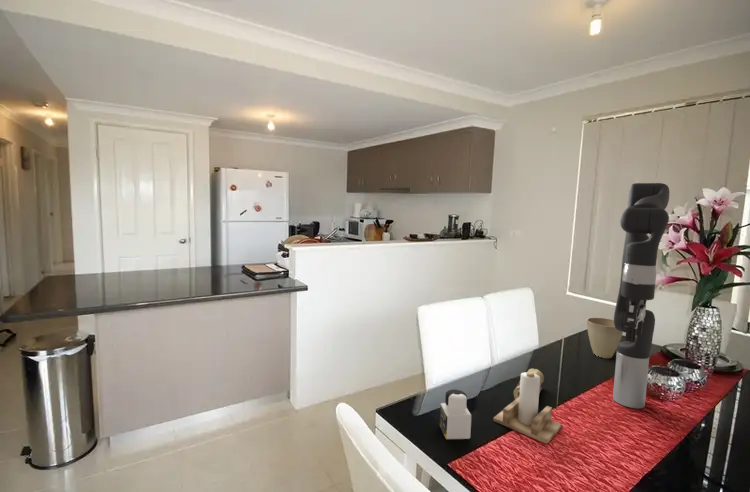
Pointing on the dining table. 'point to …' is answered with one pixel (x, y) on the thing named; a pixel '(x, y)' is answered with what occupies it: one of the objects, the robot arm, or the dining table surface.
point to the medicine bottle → (455, 416)
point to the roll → (528, 397)
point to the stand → (539, 428)
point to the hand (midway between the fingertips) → (633, 338)
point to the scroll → (537, 372)
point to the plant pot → (603, 336)
